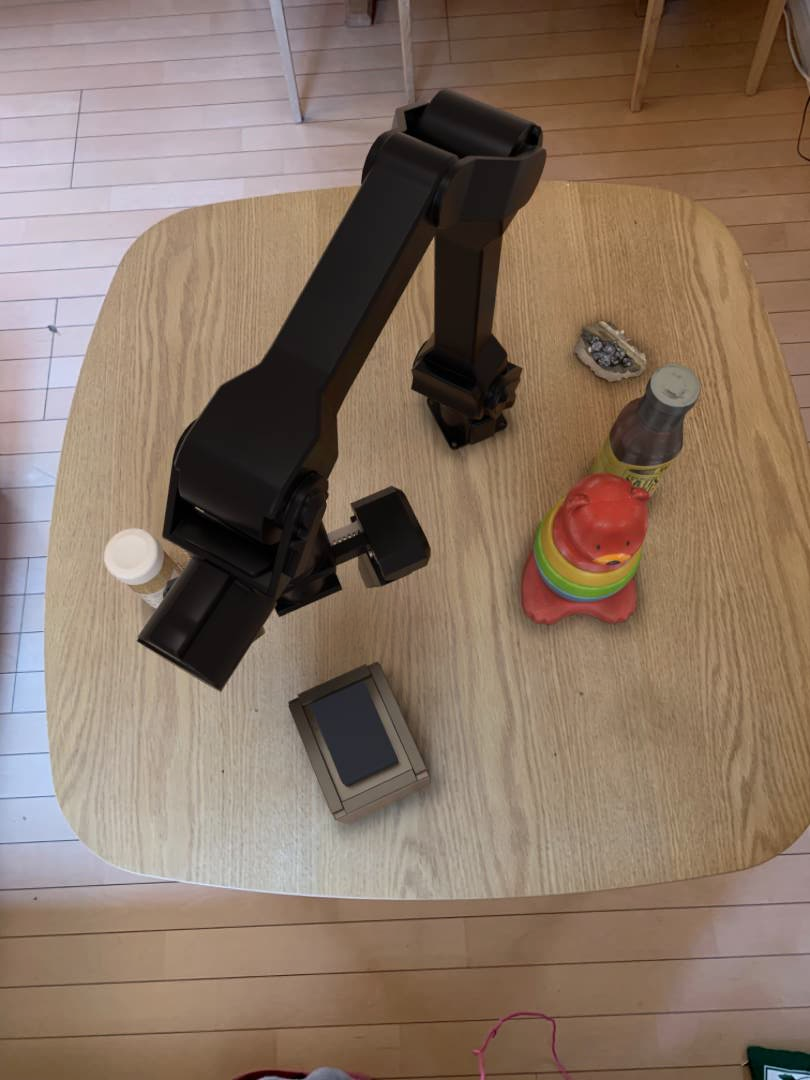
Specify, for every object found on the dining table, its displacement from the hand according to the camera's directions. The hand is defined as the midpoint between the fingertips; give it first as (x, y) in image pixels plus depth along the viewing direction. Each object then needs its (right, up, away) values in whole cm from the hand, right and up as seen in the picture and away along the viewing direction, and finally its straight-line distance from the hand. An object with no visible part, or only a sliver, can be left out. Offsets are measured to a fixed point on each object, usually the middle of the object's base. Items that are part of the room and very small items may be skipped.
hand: (313, 604), depth 69 cm
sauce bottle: (+29, +10, +16) cm, 34 cm away
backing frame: (+4, -14, +8) cm, 16 cm away
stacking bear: (+24, +2, +13) cm, 27 cm away
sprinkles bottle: (-15, 0, +13) cm, 20 cm away
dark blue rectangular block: (+4, -10, -2) cm, 11 cm away
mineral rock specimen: (+29, +25, +21) cm, 44 cm away
